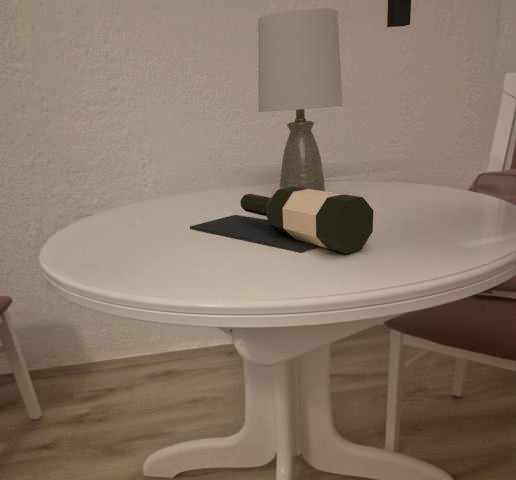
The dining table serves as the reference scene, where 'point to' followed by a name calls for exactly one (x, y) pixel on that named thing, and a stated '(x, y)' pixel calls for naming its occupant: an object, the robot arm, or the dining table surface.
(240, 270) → the dining table surface
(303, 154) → the lamp
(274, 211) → the wine bottle
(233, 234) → the mat
